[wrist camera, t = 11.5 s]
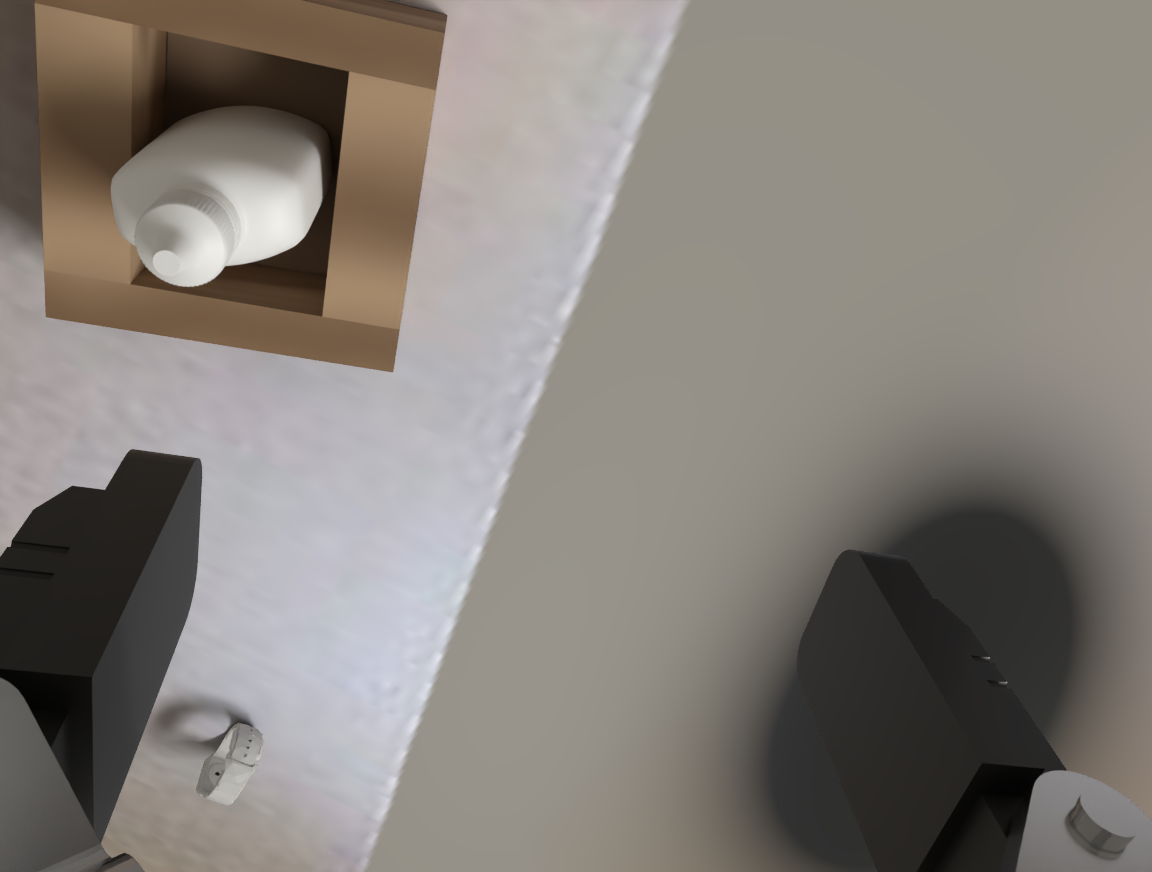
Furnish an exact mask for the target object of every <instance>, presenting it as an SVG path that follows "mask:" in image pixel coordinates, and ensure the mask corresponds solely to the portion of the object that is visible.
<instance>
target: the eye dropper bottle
mask: <svg viewBox="0 0 1152 872" xmlns="http://www.w3.org/2000/svg"><path fill="white" fill-rule="evenodd" d="M331 180H332V158H331V146H330V139H329V137H328V134H327V132H326V131H325V130H324V129H323V128H322V127H321V126H320V125H318V124H317V123H315V122H313V121H311V120H308V119H306V118H304V117H301V116H298V115H295V114H292V113H289V112H286V111H282V110H278V109H273V108H267V107H260V106H228V107H221V108H215V109H211V110H206V111H203V112H199V113H196V114H193V115H191V116H188V117H186V118H183V119H181V120H179V121H178V122H176V123H174V124H173V125H172V126H171V127H169V128H168V129H167V130H166V131H164V132H163V133H162V134H161V135H159V136H158V137H157V138H156V139H154V140H153V141H152V142H151V143H149V144H148V145H147V146H146V147H145V148H143V149H142V150H141V151H140V152H139V153H137V154H136V155H135V156H134V157H133V158H131V159H130V160H129V161H128V162H127V163H126V164H125V165H124V166H123V167H121V168H120V169H119V171H118V172H117V173H116V174H115V175H114V177H113V178H112V182H111V199H112V205H113V211H114V215H115V220H116V224H117V227H118V230H119V232H120V234H121V235H122V237H123V238H124V239H125V240H127V241H128V242H129V243H130V244H132V245H134V246H135V247H136V248H137V249H136V251H137V252H138V255H139V256H140V259H141V260H142V263H143V264H145V267H146V268H148V270H149V271H151V272H152V274H154V275H156V277H158V278H160V279H161V280H164V281H165V282H168V283H169V284H173V285H178V286H179V287H180V286H183V287H185V286H187V287H190V286H192V287H194V286H199V285H203V284H204V283H206V284H207V282H211V280H212V279H215V277H216V276H218V275H219V273H221V271H222V270H223V268H224V267H225V266H232V265H240V264H246V263H251V262H255V261H259V260H262V259H266V258H269V257H272V256H274V255H277V254H279V253H282V252H284V251H286V250H288V249H290V248H292V247H294V246H296V245H297V244H298V243H299V242H300V241H301V240H302V239H303V238H304V237H305V235H306V234H307V232H308V230H309V228H310V227H311V225H312V222H313V220H314V218H315V216H316V214H317V212H318V210H319V208H320V206H321V204H322V201H323V199H324V197H325V195H326V193H327V191H328V188H329V186H330V184H331Z"/></svg>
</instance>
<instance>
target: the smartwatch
mask: <svg viewBox="0 0 1152 872" xmlns="http://www.w3.org/2000/svg"><path fill="white" fill-rule="evenodd" d="M263 746H264V740H263V738H262V734H261V732H260V731H259V730H258V729H255V728H253V727H251V726H249V725H247V724H241V723H237V724H235V725H234V726H233V727H232V728H231V729H230V731H229V732H228V733H227V735H226V736H225V738H224V740H223V741H222V743H221V745H220V746H219V748H218V749H217V751H216V752H215V753H214V754H212V756H210V757H208V758H206V760H205V761H204V764H203V767H202V771H201V774H200V777H199V781H198V784H197V788H196V790H197V793H198V794H199V795H201V796H203V797H205V798H207V799H210V800H213V801H215V802H218V803H221V804H224V805H226V806H227V805H230V804H232V803H233V802H234V800H235V799H236V798H237V796H238V794H239V793H240V792H241V790H242V789H243V787H244V786H245V784H246V782H247V781H248V779H249V777H250V776H251V774H252V773H253V772H255V771H256V769H257V760H258V759H259V758H260V757H261V754H262V750H263Z"/></svg>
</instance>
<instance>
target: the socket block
mask: <svg viewBox="0 0 1152 872" xmlns="http://www.w3.org/2000/svg"><path fill="white" fill-rule="evenodd" d="M34 1H35V29H36V57H37V85H38V113H39V140H40V168H41V196H42V224H43V251H44V279H45V307H46V317H49V318H55V319H61V320H67V321H74V322H80V323H86V324H92V325H99V326H105V327H111V328H118V329H124V330H130V331H136V332H143V333H149V334H155V335H162V336H168V337H174V338H180V339H187V340H193V341H199V342H206V343H212V344H218V345H224V346H231V347H237V348H243V349H250V350H256V351H262V352H268V353H275V354H281V355H287V356H294V357H300V358H306V359H312V360H319V361H325V362H331V363H337V364H344V365H350V366H356V367H363V368H369V369H375V370H381V371H388V372H393V369H394V363H395V356H396V350H397V343H398V336H399V330H400V323H401V317H402V310H403V304H404V297H405V290H406V284H407V277H408V271H409V264H410V258H411V251H412V244H413V238H414V231H415V225H416V218H417V211H418V205H419V198H420V192H421V185H422V179H423V172H424V165H425V159H426V152H427V146H428V139H429V132H430V126H431V119H432V113H433V106H434V99H435V93H436V86H437V80H438V73H439V67H440V60H441V53H442V47H443V40H444V34H445V27H446V20H447V15H444V14H440V13H436V12H431V11H427V10H423V9H419V8H414V7H410V6H406V5H401V4H397V3H393V2H389V1H384V0H34ZM228 106H260V107H267V108H273V109H278V110H282V111H286V112H289V113H292V114H295V115H298V116H301V117H304V118H306V119H308V120H311V121H313V122H315V123H317V124H318V125H320V126H321V127H322V128H323V129H324V130H325V131H326V132H327V134H328V137H329V139H330V146H331V158H332V180H331V184H330V186H329V188H328V191H327V193H326V195H325V197H324V199H323V201H322V204H321V206H320V208H319V210H318V212H317V214H316V216H315V218H314V220H313V222H312V225H311V227H310V228H309V230H308V232H307V234H306V235H305V237H304V238H303V239H302V240H301V241H300V242H299V243H298V244H297V245H296V246H294V247H292V248H290V249H288V250H286V251H284V252H282V253H279V254H277V255H274V256H272V257H269V258H266V259H262V260H259V261H255V262H251V263H246V264H240V265H232V266H225V267H224V268H223V270H222V271H221V273H219V275H218V276H216V277H215V279H212V280H211V282H207V284H206V283H204V284H203V285H199V286H194V287H192V286H190V287H187V286H185V287H183V286H180V287H179V286H178V285H173V284H169V283H168V282H165V281H164V280H161V279H160V278H158V277H156V275H154V274H152V272H151V271H149V270H148V268H146V267H145V264H143V263H142V260H141V259H140V256H139V255H138V252H137V251H136V249H137V248H136V247H135V246H134V245H132V244H130V243H129V242H128V241H127V240H125V239H124V238H123V237H122V235H121V234H120V232H119V230H118V227H117V224H116V220H115V215H114V211H113V205H112V199H111V182H112V178H113V177H114V175H115V174H116V173H117V172H118V171H119V169H120V168H121V167H123V166H124V165H125V164H126V163H127V162H128V161H129V160H130V159H131V158H133V157H134V156H135V155H136V154H137V153H139V152H140V151H141V150H142V149H143V148H145V147H146V146H147V145H148V144H149V143H151V142H152V141H153V140H154V139H156V138H157V137H158V136H159V135H161V134H162V133H163V132H164V131H166V130H167V129H168V128H169V127H171V126H172V125H173V124H174V123H176V122H178V121H179V120H181V119H183V118H186V117H188V116H191V115H193V114H196V113H199V112H203V111H206V110H211V109H215V108H221V107H228Z"/></svg>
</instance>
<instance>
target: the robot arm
mask: <svg viewBox="0 0 1152 872" xmlns="http://www.w3.org/2000/svg"><path fill="white" fill-rule="evenodd" d="M201 487H202V464H201V460H200V459H199V458H192V457H185V456H178V455H171V454H163V453H156V452H149V451H142V450H134V449H132V450H130V451H129V452H128V453H127V454H126V456H125V457H124V459H123V461H122V462H121V464H120V466H119V467H118V469H117V471H116V472H115V474H114V476H113V477H112V479H111V481H110V482H109V484H108V486H107V487H106V489H105V490H101V489H93V488H85V487H77V486H71V487H70V488H68V489H66V490H65V491H63V492H61V493H60V494H58V495H57V496H55V497H53V498H52V499H50V500H48V501H47V502H45V503H44V504H42V505H40V506H39V507H37V508H35V509H34V510H33V511H32V512H31V514H30V515H29V517H28V518H27V520H26V521H25V523H24V524H23V525H22V527H21V528H20V530H19V531H18V533H17V534H16V535H15V537H14V538H13V540H12V544H11V547H7V548H6V550H5V551H4V553H3V554H2V555H1V557H0V872H144V870H143V869H142V867H141V866H140V865H139V863H138V862H137V861H136V860H135V859H134V858H133V857H132V856H130V855H129V854H126V853H123V854H120V855H118V856H116V857H114V858H111V857H110V856H109V855H108V854H107V853H106V851H105V850H104V848H103V847H102V845H101V841H102V839H103V836H104V834H105V831H106V828H107V826H108V823H109V820H110V818H111V815H112V813H113V810H114V807H115V805H116V802H117V800H118V797H119V794H120V792H121V789H122V787H123V784H124V781H125V779H126V776H127V774H128V771H129V768H130V766H131V763H132V760H133V758H134V755H135V753H136V750H137V747H138V745H139V742H140V740H141V737H142V734H143V732H144V729H145V727H146V724H147V721H148V719H149V716H150V714H151V711H152V708H153V706H154V703H155V700H156V698H157V695H158V693H159V690H160V687H161V685H162V682H163V680H164V677H165V674H166V672H167V669H168V667H169V664H170V661H171V659H172V656H173V654H174V651H175V648H176V646H177V643H178V640H179V638H180V635H181V633H182V630H183V627H184V625H185V622H186V619H187V616H188V613H189V610H190V606H191V602H192V598H193V593H194V587H195V581H196V574H197V563H198V544H199V525H200V506H201ZM989 659H990V656H989V655H988V654H987V652H986V651H985V649H984V648H983V646H982V645H981V643H980V642H979V640H978V639H977V637H976V636H975V634H974V633H973V632H972V630H971V629H970V627H969V626H968V625H966V624H965V623H964V622H963V621H962V620H961V619H959V618H958V617H957V616H956V615H955V614H954V613H953V612H951V611H950V610H949V609H948V608H947V607H946V606H945V605H944V604H943V603H941V602H940V601H939V600H938V599H933V597H932V596H931V594H930V593H929V591H928V589H927V588H926V586H925V585H924V583H923V582H922V580H921V579H920V577H919V576H918V574H917V573H916V571H915V570H914V568H913V567H912V565H911V564H910V562H909V561H908V560H907V559H905V558H903V557H900V556H893V555H886V554H878V553H871V552H864V551H856V550H846V551H844V552H843V553H841V554H840V555H839V557H838V558H837V559H836V561H835V563H834V565H833V567H832V570H831V572H830V574H829V577H828V579H827V581H826V583H825V586H824V588H823V590H822V593H821V595H820V597H819V599H818V601H817V604H816V606H815V609H814V611H813V613H812V615H811V617H810V620H809V622H808V624H807V627H806V629H805V631H804V633H803V636H802V638H801V641H800V645H799V650H798V657H797V672H798V679H799V683H800V687H801V689H802V692H803V694H804V697H805V699H806V701H807V703H808V706H809V708H810V711H811V713H812V715H813V718H814V720H815V723H816V725H817V728H818V730H819V732H820V735H821V737H822V740H823V742H824V744H825V747H826V749H827V752H828V754H829V756H830V759H831V761H832V764H833V766H834V768H835V770H836V773H837V775H838V778H839V780H840V783H841V785H842V787H843V790H844V792H845V795H846V797H847V799H848V802H849V804H850V806H851V809H852V811H853V814H854V816H855V818H856V821H857V823H858V826H859V828H860V831H861V833H862V835H863V838H864V840H865V843H866V845H867V847H868V850H869V852H870V854H871V857H872V859H873V862H874V864H875V866H876V869H877V871H878V872H1152V820H1151V819H1150V818H1149V817H1148V816H1147V815H1146V814H1145V813H1144V812H1143V811H1142V810H1141V809H1140V808H1139V807H1138V806H1137V805H1135V804H1134V803H1133V802H1132V801H1131V800H1129V799H1128V798H1126V797H1125V796H1124V795H1122V794H1121V793H1119V792H1118V791H1116V790H1115V789H1113V788H1111V787H1110V786H1108V785H1106V784H1104V783H1102V782H1100V781H1098V780H1096V779H1094V778H1091V777H1089V776H1086V775H1083V774H1079V773H1076V772H1071V771H1067V770H1066V768H1065V767H1064V765H1063V764H1062V762H1061V761H1060V759H1059V758H1058V756H1057V755H1056V754H1055V752H1054V751H1053V749H1052V748H1051V746H1050V745H1049V743H1048V742H1047V740H1046V739H1045V737H1044V736H1043V734H1042V733H1041V732H1040V730H1039V729H1038V727H1037V726H1036V724H1035V723H1034V721H1033V720H1032V718H1031V717H1030V715H1029V714H1028V712H1027V711H1026V709H1025V708H1024V706H1023V705H1022V704H1021V702H1020V701H1019V699H1018V698H1017V696H1016V695H1015V693H1014V692H1013V690H1012V689H1010V688H1007V687H1006V684H1007V682H1006V680H1005V679H1004V677H1003V676H1002V674H1001V673H1000V671H999V670H998V668H997V667H996V665H995V664H994V663H990V661H989Z"/></svg>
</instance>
